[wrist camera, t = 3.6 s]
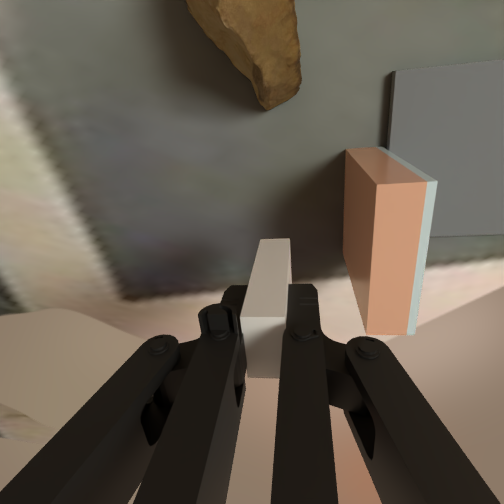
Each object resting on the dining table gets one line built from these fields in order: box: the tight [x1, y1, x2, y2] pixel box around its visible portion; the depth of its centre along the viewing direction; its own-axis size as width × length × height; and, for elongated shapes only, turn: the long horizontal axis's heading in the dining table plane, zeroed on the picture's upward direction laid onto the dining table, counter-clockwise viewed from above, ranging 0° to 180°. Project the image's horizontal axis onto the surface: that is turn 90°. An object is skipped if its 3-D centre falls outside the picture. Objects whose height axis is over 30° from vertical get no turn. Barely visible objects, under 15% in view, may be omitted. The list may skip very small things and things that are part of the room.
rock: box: [186, 0, 302, 110], centre depth 18 cm, size 11×9×10 cm
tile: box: [343, 147, 438, 335], centre depth 20 cm, size 2×8×10 cm, turn 5°
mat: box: [386, 59, 504, 237], centre depth 22 cm, size 10×11×1 cm
